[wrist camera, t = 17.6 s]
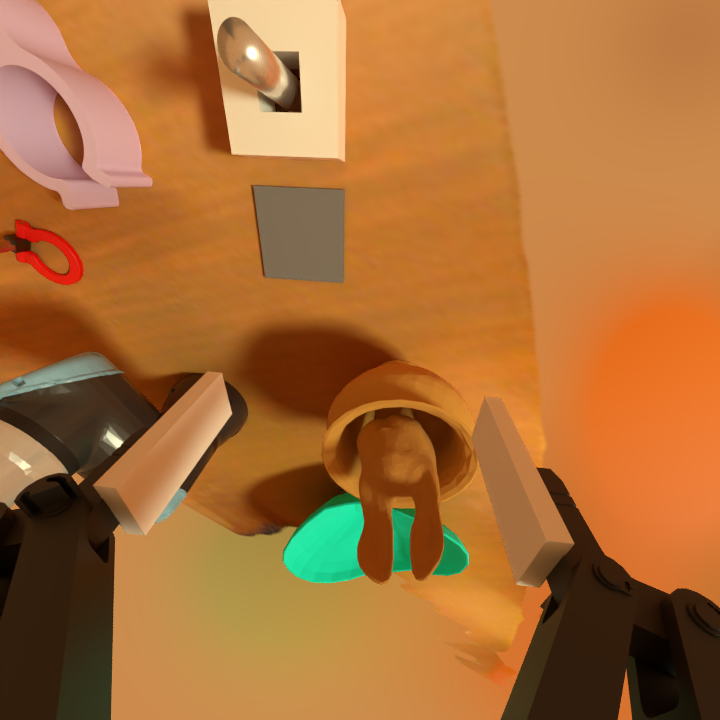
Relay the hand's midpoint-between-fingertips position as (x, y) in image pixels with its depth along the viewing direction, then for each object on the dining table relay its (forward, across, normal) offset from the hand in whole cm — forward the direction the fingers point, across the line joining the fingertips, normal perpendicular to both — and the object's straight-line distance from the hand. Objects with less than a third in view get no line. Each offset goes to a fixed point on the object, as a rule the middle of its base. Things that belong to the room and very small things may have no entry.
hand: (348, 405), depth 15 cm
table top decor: (+32, +3, -57) cm, 65 cm away
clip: (+32, -39, +16) cm, 53 cm away
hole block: (+31, -11, +18) cm, 38 cm away
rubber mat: (+32, -11, +3) cm, 34 cm away
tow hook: (+32, -52, -2) cm, 61 cm away
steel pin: (+32, -11, +18) cm, 38 cm away
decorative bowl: (+32, +5, -21) cm, 38 cm away
